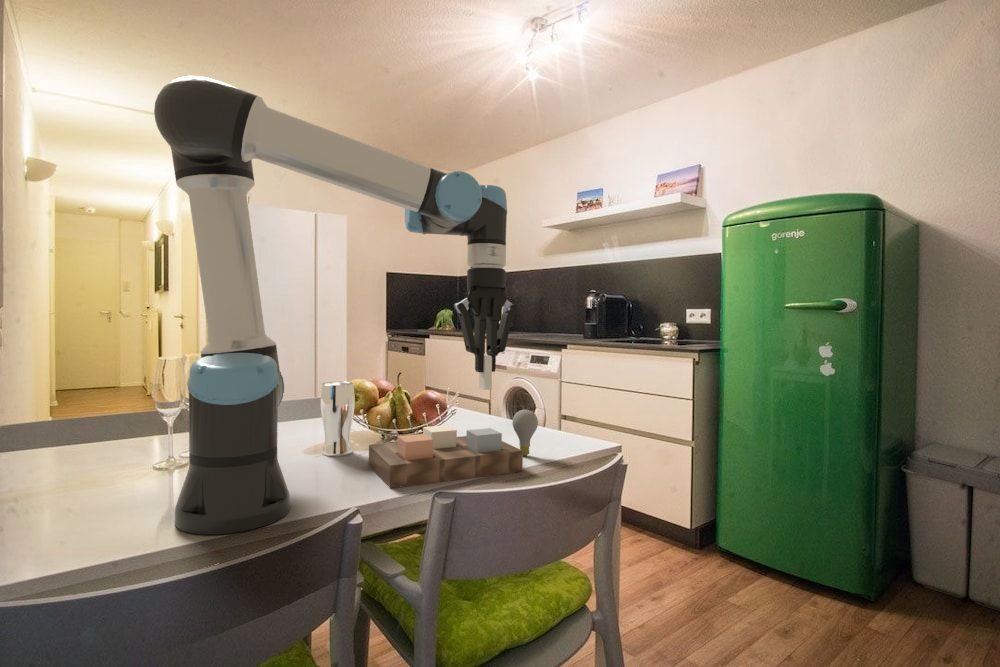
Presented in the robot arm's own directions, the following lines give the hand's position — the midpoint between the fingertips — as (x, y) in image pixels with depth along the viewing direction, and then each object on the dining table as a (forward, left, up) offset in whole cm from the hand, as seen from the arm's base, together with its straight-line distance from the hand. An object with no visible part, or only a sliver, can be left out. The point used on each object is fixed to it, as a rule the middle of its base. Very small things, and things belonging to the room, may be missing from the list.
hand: (485, 388), depth 106 cm
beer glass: (-24, +23, -16) cm, 37 cm away
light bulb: (+12, +5, -16) cm, 20 cm away
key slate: (0, 0, -14) cm, 14 cm away
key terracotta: (-14, 0, -14) cm, 19 cm away
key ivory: (-7, +6, -14) cm, 16 cm away
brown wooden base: (-7, +3, -16) cm, 17 cm away
